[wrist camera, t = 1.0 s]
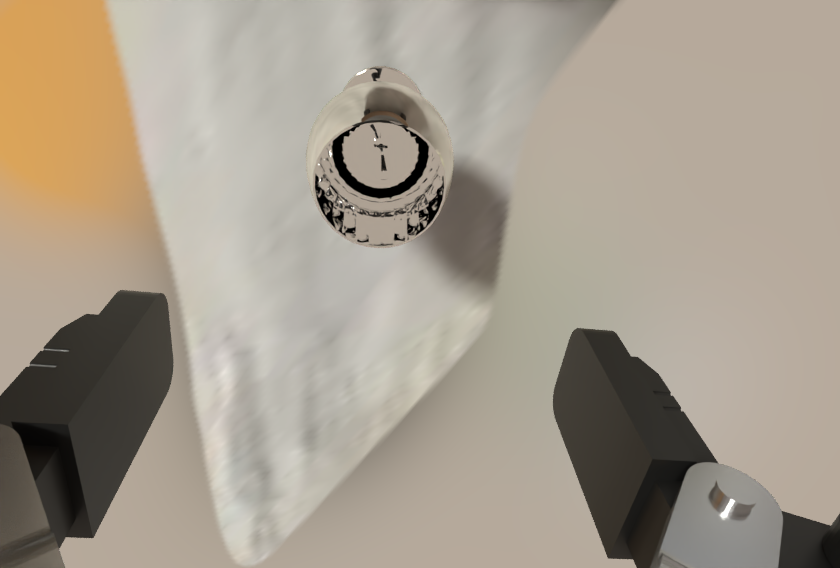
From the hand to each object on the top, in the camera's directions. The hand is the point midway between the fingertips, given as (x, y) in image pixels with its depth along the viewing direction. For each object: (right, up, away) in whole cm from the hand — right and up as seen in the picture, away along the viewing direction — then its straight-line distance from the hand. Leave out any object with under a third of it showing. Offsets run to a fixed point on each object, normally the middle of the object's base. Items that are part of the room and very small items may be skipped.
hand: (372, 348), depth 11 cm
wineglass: (-1, +11, +19) cm, 22 cm away
